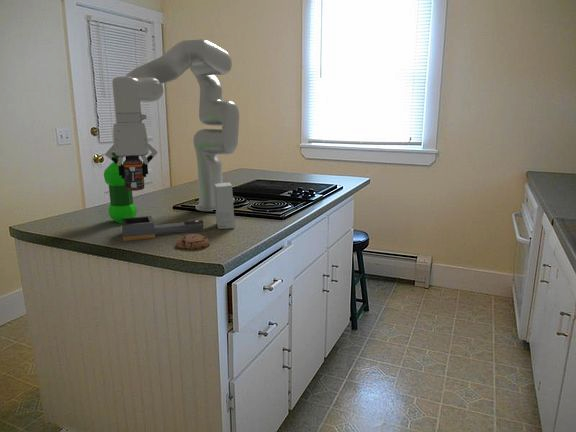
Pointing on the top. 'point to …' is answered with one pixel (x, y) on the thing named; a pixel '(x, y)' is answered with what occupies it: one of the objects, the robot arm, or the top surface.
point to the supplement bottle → (133, 173)
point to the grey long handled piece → (155, 227)
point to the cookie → (192, 242)
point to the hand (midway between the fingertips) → (133, 176)
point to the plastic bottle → (118, 194)
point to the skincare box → (224, 205)
